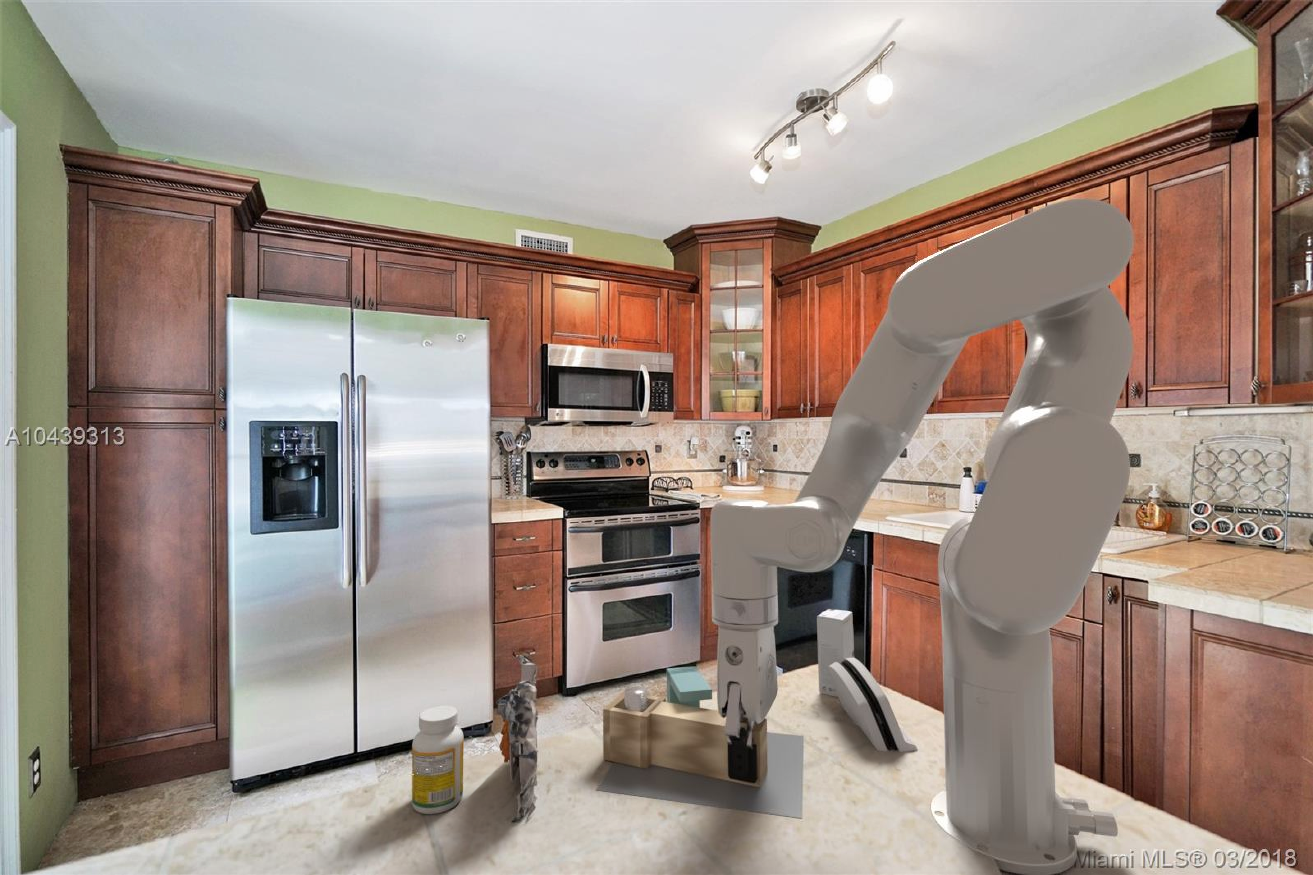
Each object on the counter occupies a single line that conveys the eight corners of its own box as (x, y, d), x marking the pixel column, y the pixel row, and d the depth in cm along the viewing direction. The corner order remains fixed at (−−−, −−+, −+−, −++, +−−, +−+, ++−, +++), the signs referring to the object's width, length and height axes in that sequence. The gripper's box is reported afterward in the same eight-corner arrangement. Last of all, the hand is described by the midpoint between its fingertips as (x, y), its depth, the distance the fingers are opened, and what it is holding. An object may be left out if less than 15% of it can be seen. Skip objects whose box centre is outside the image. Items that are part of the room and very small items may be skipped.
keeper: (680, 759, 72) (680, 692, 72) (667, 729, 80) (666, 668, 80) (712, 755, 73) (712, 689, 73) (696, 726, 81) (695, 666, 81)
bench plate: (803, 745, 77) (803, 736, 77) (802, 830, 60) (802, 818, 60) (640, 727, 83) (640, 719, 83) (596, 801, 65) (595, 790, 65)
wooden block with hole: (603, 759, 72) (603, 709, 72) (624, 738, 77) (624, 691, 77) (758, 792, 64) (757, 736, 65) (769, 766, 70) (768, 714, 70)
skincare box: (845, 699, 92) (844, 620, 92) (817, 693, 94) (815, 616, 94) (856, 686, 97) (855, 611, 97) (829, 680, 99) (827, 607, 100)
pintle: (650, 748, 75) (649, 687, 75) (644, 759, 72) (643, 696, 72) (628, 745, 75) (628, 685, 76) (622, 756, 73) (621, 694, 73)
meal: (503, 762, 74) (502, 655, 74) (538, 758, 75) (537, 653, 75) (494, 838, 59) (494, 705, 60) (538, 832, 60) (538, 701, 61)
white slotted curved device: (922, 761, 73) (893, 684, 73) (886, 775, 73) (857, 697, 73) (874, 704, 90) (851, 641, 90) (845, 715, 90) (821, 652, 90)
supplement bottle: (440, 820, 62) (440, 727, 62) (400, 809, 64) (400, 719, 64) (473, 793, 67) (473, 707, 68) (436, 783, 69) (436, 700, 69)
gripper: (760, 631, 59) (764, 819, 59) (790, 594, 75) (793, 743, 74) (689, 624, 62) (692, 802, 62) (732, 590, 78) (734, 733, 77)
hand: (747, 768), depth 68 cm, fingers closed on wooden block with hole, 3 cm apart
